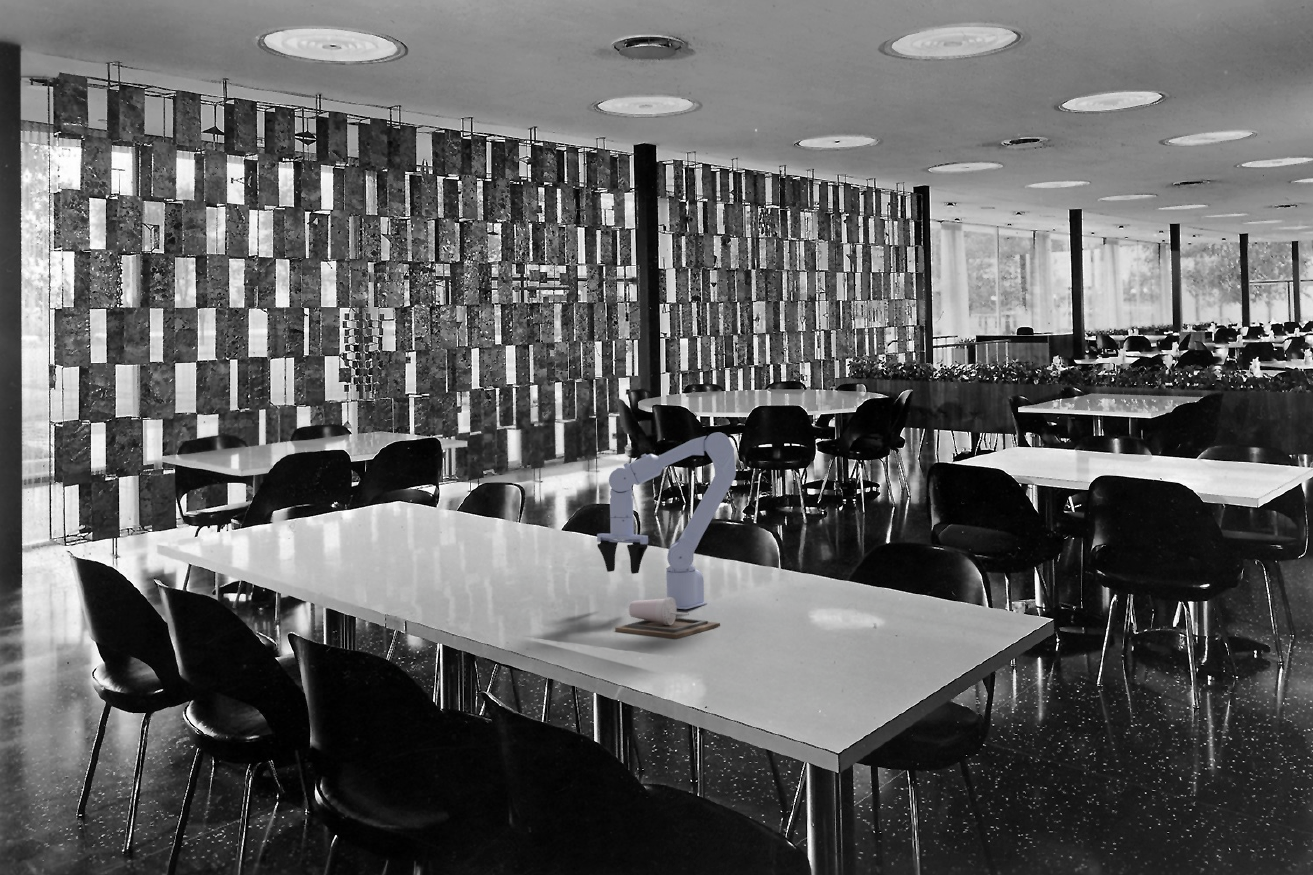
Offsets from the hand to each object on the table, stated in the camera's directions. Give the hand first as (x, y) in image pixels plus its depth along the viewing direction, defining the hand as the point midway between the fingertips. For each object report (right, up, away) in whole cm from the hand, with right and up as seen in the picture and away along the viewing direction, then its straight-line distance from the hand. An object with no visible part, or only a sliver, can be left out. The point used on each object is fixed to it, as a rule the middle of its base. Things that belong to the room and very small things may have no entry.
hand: (622, 572), depth 258 cm
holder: (+11, -10, -20) cm, 25 cm away
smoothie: (+3, -6, -16) cm, 18 cm away
